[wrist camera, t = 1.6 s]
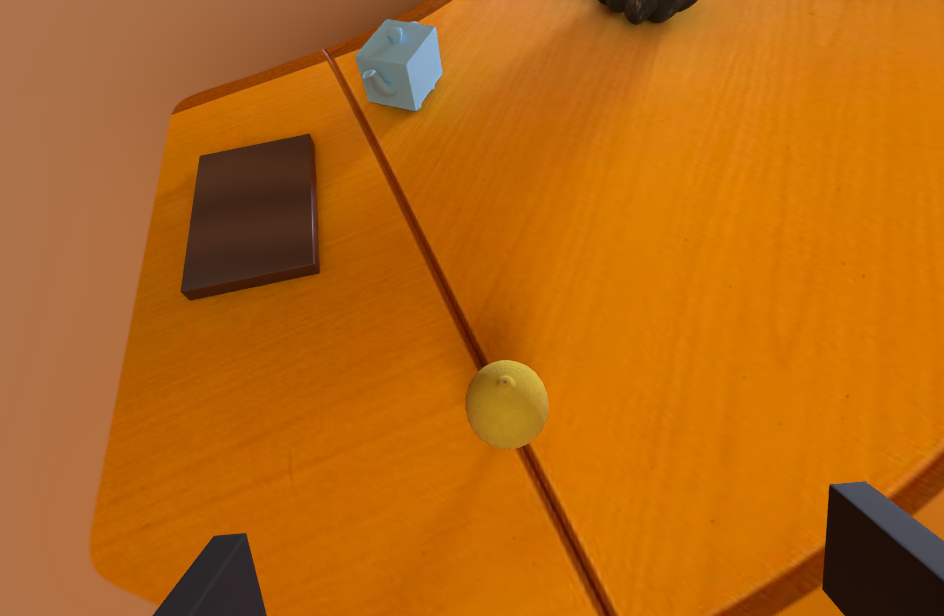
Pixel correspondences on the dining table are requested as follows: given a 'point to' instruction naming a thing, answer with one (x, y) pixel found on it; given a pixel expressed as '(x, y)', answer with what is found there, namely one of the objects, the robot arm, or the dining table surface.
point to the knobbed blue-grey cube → (400, 64)
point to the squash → (648, 9)
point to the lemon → (507, 404)
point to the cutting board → (252, 218)
